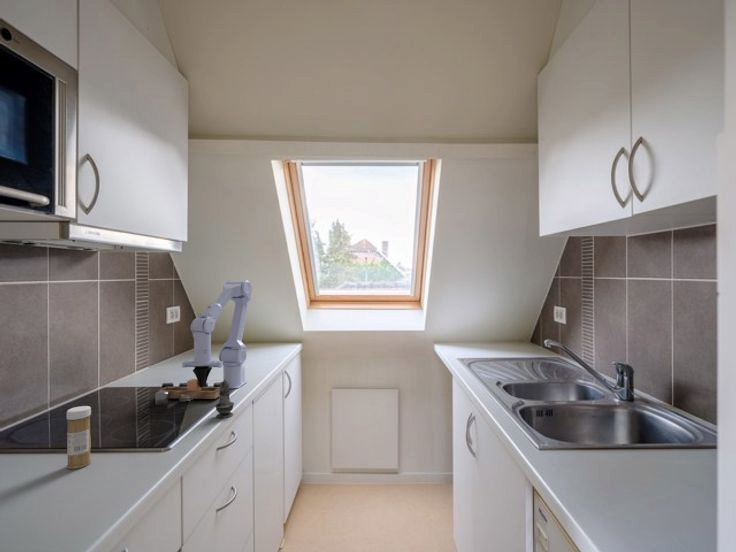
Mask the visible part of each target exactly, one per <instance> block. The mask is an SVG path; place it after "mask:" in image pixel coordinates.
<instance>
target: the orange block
mask: <svg viewBox="0 0 736 552" xmlns="http://www.w3.org/2000/svg"><path fill="white" fill-rule="evenodd" d="M186 387H187V391H200V390H201V388H200V386H199V383H198V380H197V378H191V379H189V380H187V381H186Z"/></svg>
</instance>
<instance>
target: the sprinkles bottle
mask: <svg viewBox="0 0 736 552" xmlns="http://www.w3.org/2000/svg"><path fill="white" fill-rule="evenodd" d="M91 415H92V407H91V406H90V405H89V406H88V405H82V406H75V407H71V408H69V409H67V411H66V421H67V432H66V436H67V437H66V438H67V439H66V440H67V441H66V443H67V445H66V446H67V448H66V450H67V451H66V452H67V465H66V468H67V469H68V470H78V469H82V468H85V467H87V466H88V465H90V464H91V461H92V459H91V447H92V446H91V445H92V444H91V443H92V442H91Z"/></svg>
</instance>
